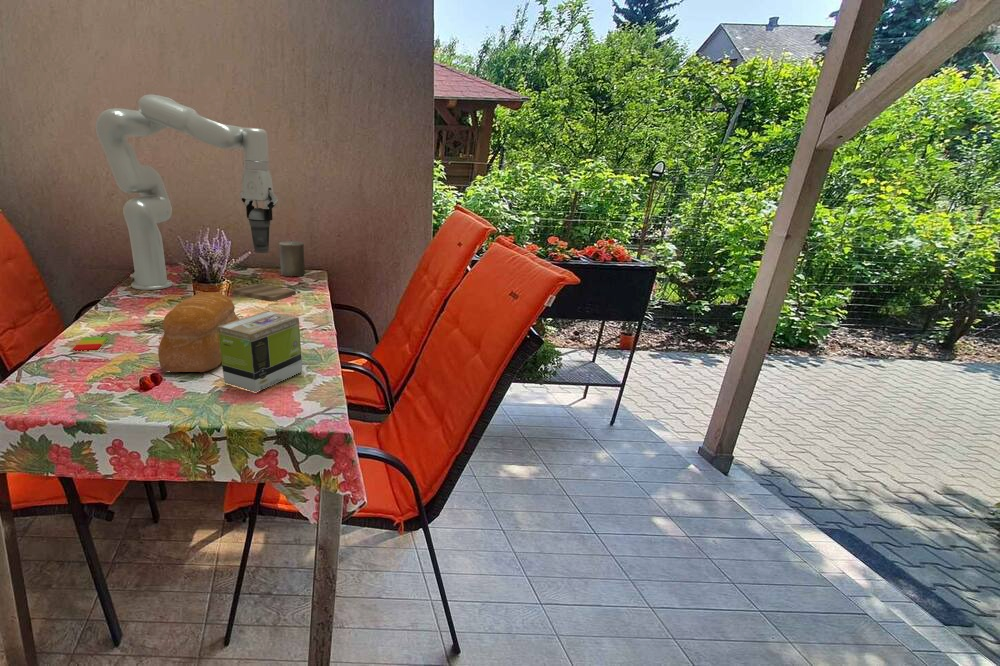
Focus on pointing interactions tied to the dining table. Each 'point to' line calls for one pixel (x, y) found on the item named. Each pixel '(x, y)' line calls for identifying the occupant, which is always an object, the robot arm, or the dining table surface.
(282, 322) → the tea box
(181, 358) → the bread
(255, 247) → the beverage cup
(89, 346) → the popsicle
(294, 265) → the pillar candle
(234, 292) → the walnut board
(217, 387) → the dining table surface
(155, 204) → the robot arm
